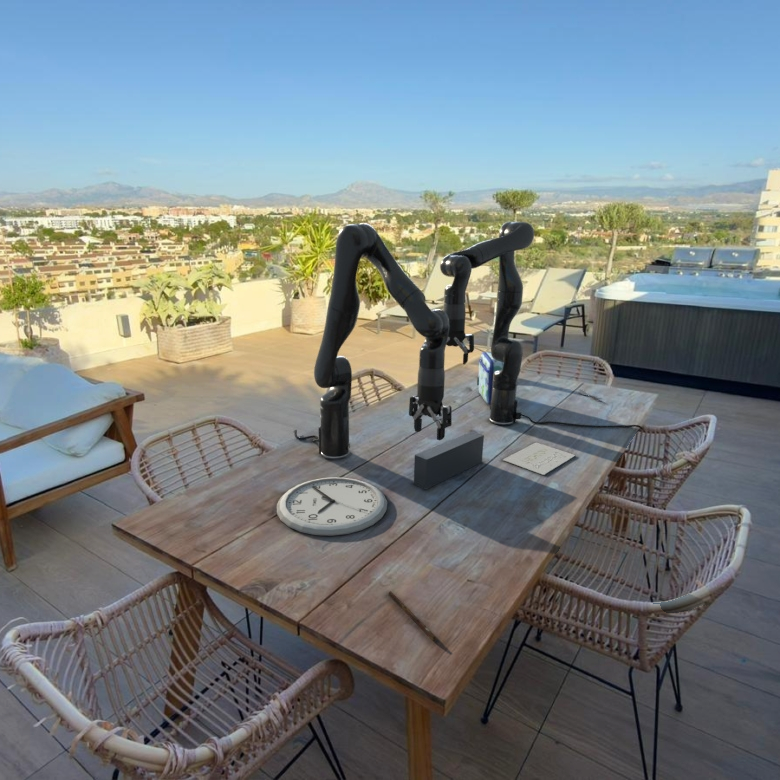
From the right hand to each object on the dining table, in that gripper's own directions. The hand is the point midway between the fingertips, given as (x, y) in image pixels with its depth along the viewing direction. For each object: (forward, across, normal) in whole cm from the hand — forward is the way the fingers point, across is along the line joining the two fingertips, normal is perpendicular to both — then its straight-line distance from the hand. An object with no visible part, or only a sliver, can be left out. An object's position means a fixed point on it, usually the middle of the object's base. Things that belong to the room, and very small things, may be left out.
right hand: (452, 362), depth 181 cm
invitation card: (+29, +32, -7) cm, 43 cm away
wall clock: (+27, -21, -58) cm, 67 cm away
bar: (+28, +6, -28) cm, 40 cm away
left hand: (+12, +1, -36) cm, 39 cm away
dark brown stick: (+27, +11, -93) cm, 97 cm away
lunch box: (+29, +9, +51) cm, 59 cm away
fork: (+30, +52, +69) cm, 91 cm away
